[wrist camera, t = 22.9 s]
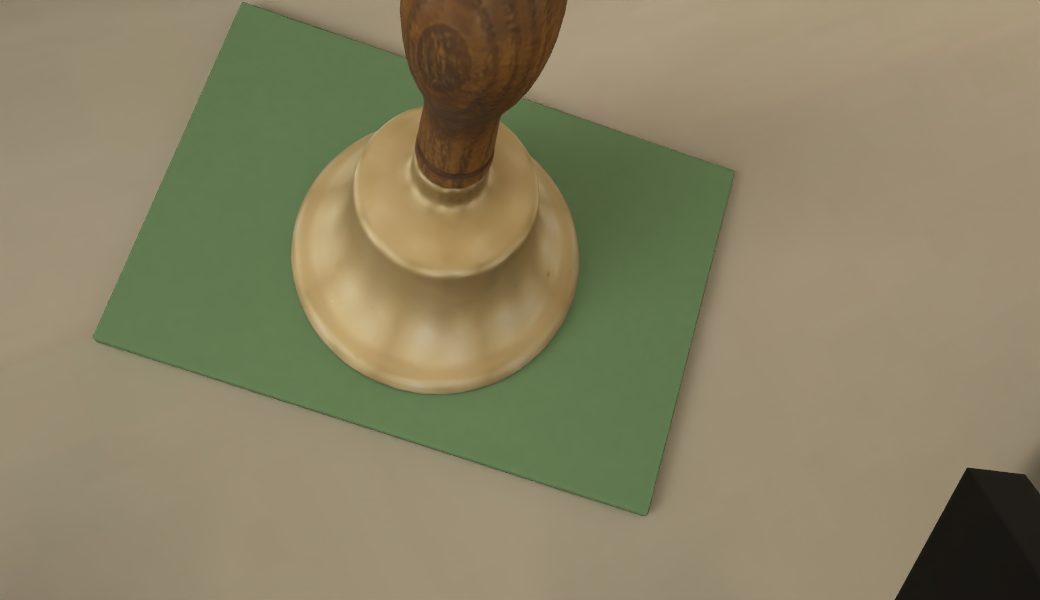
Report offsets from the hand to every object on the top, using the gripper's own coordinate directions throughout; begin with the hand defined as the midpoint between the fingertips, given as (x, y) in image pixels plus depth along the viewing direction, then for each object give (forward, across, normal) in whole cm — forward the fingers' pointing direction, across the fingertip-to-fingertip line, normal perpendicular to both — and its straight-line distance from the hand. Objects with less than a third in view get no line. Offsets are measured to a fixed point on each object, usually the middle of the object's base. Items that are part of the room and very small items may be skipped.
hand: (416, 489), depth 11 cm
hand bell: (+16, 0, -5) cm, 16 cm away
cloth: (+16, 0, -5) cm, 17 cm away
